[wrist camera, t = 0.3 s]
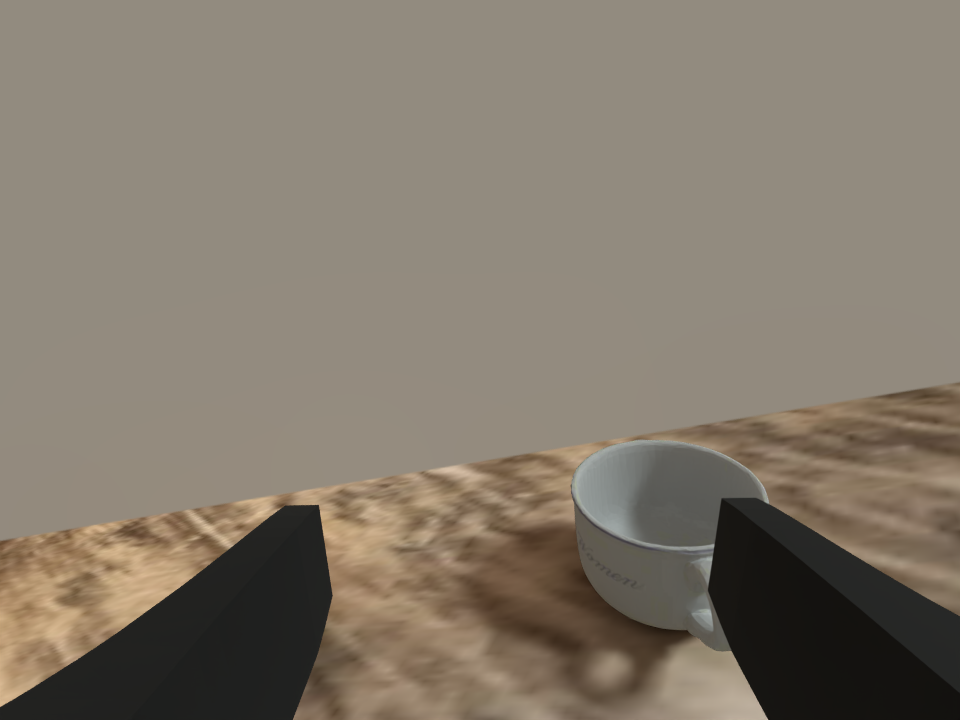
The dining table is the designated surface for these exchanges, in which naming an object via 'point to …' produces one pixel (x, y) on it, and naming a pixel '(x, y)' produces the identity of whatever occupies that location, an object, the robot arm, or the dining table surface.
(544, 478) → the dining table surface
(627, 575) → the teacup
